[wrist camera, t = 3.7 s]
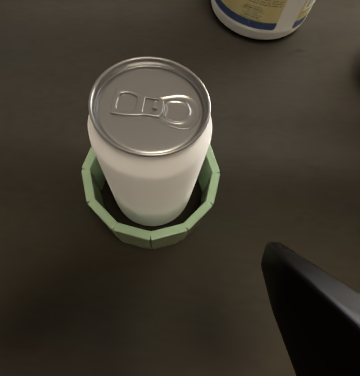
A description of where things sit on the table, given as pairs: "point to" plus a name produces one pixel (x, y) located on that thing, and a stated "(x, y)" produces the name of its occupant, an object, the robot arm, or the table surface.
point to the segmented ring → (140, 237)
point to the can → (150, 135)
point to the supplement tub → (262, 16)
